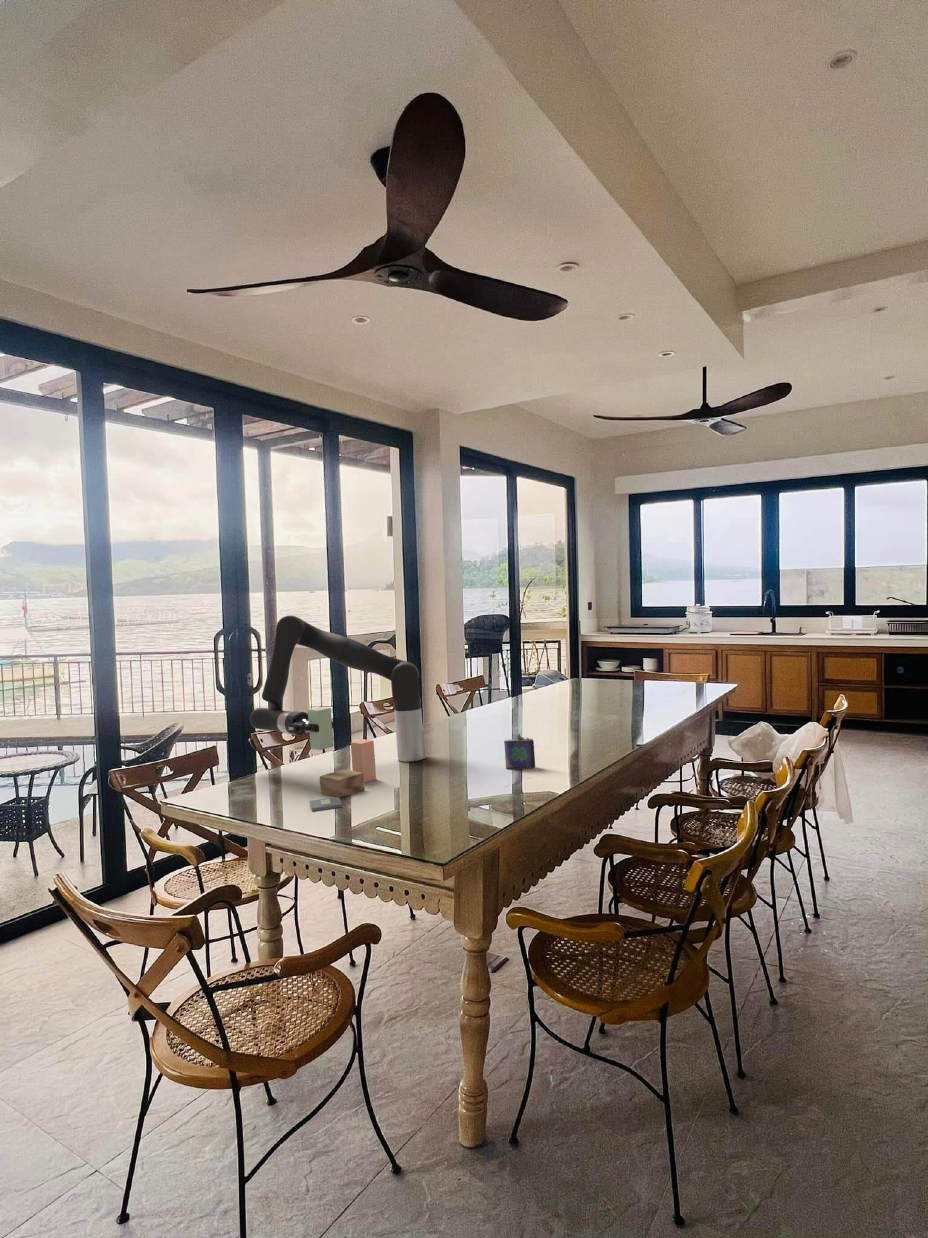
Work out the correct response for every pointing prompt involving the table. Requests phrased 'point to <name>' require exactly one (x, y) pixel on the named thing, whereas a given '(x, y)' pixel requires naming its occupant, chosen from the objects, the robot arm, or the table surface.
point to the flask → (519, 753)
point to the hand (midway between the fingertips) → (325, 726)
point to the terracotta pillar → (364, 758)
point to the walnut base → (342, 783)
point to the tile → (325, 804)
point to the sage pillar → (321, 728)
